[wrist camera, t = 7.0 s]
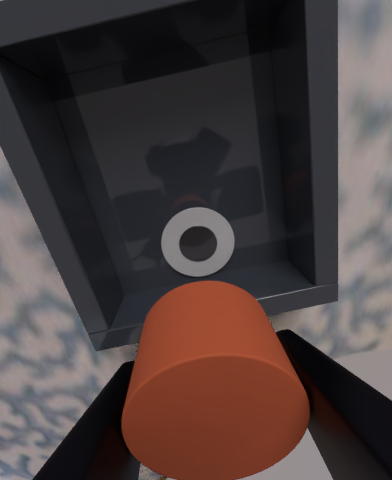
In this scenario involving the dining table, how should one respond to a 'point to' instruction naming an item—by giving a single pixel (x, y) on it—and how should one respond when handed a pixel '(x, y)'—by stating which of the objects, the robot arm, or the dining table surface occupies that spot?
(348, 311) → the dining table surface
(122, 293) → the dark grey open box
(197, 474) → the stopper
